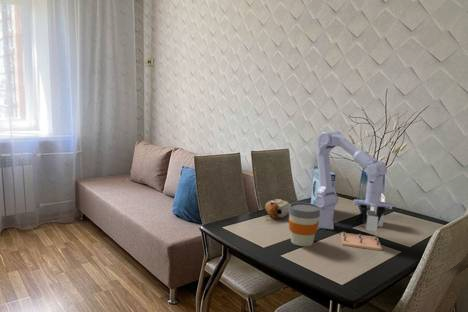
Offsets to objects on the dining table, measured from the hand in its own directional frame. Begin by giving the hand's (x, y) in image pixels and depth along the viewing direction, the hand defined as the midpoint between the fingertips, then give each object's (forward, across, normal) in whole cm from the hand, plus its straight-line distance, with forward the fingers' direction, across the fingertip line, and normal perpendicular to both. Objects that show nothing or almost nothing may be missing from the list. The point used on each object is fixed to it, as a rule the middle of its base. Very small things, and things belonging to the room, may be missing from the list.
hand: (370, 223), depth 141 cm
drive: (+2, 0, 0) cm, 2 cm away
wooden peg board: (+8, -3, 0) cm, 9 cm away
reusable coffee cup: (+9, -27, -8) cm, 29 cm away
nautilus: (+9, -42, +19) cm, 47 cm away
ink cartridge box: (+9, +6, +26) cm, 28 cm away
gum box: (+9, -20, +33) cm, 39 cm away
